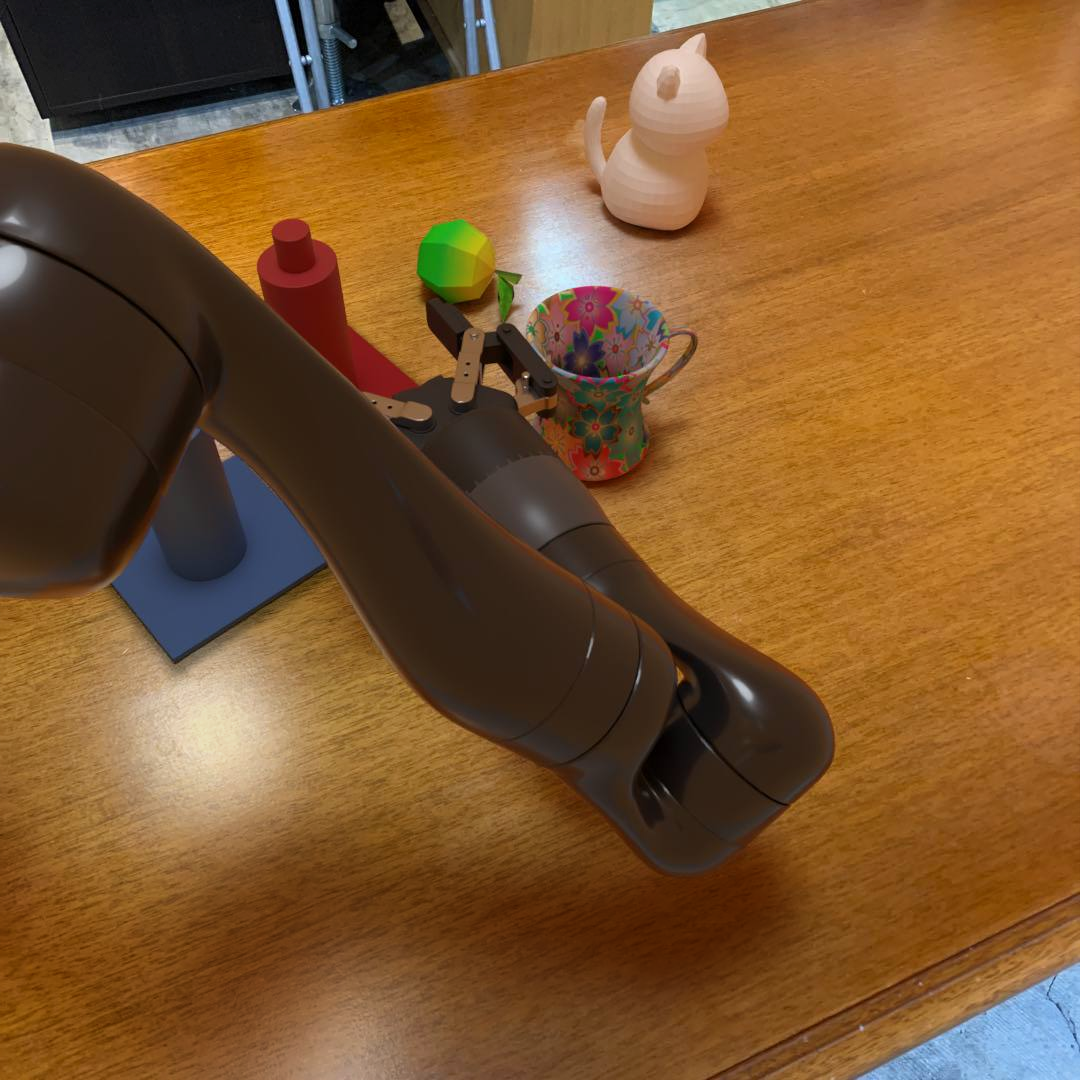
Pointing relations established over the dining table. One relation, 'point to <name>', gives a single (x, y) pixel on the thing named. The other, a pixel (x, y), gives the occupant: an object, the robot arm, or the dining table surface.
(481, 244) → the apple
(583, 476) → the mug
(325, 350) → the red bottle
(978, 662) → the dining table surface
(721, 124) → the cat figurine
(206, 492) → the blue bottle
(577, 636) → the robot arm
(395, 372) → the red mat
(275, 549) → the blue mat
